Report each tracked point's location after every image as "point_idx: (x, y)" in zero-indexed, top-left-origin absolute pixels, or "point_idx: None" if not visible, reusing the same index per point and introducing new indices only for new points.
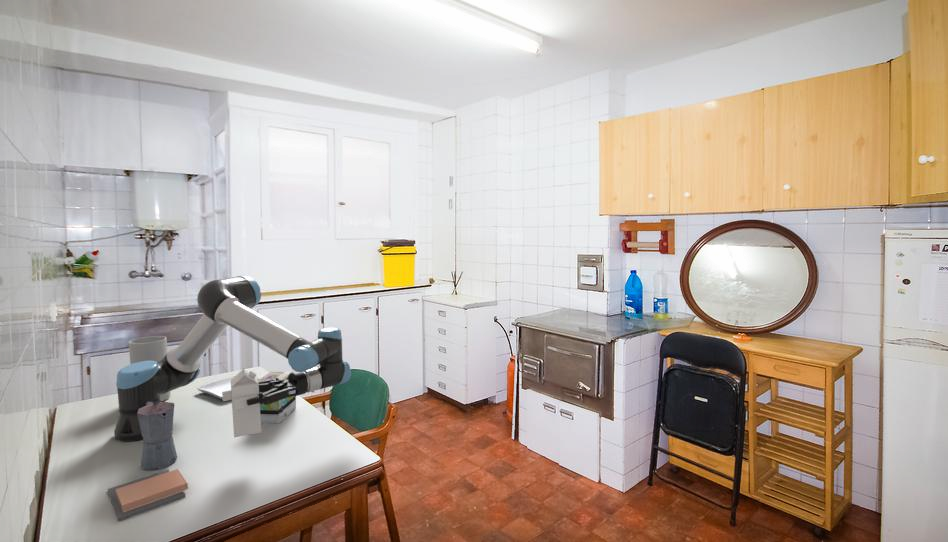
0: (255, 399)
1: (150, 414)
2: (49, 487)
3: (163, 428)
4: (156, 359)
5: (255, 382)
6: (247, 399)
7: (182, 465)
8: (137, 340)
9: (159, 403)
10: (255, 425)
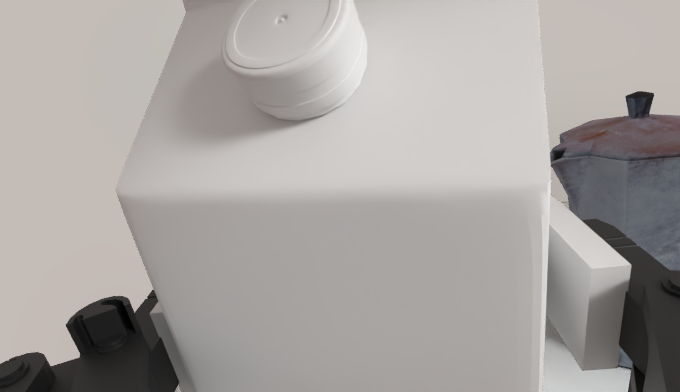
0: (140, 313)
1: (563, 135)
2: (565, 204)
3: (576, 213)
4: None
5: (167, 166)
6: None
7: (568, 381)
8: None
9: (663, 121)
10: None
